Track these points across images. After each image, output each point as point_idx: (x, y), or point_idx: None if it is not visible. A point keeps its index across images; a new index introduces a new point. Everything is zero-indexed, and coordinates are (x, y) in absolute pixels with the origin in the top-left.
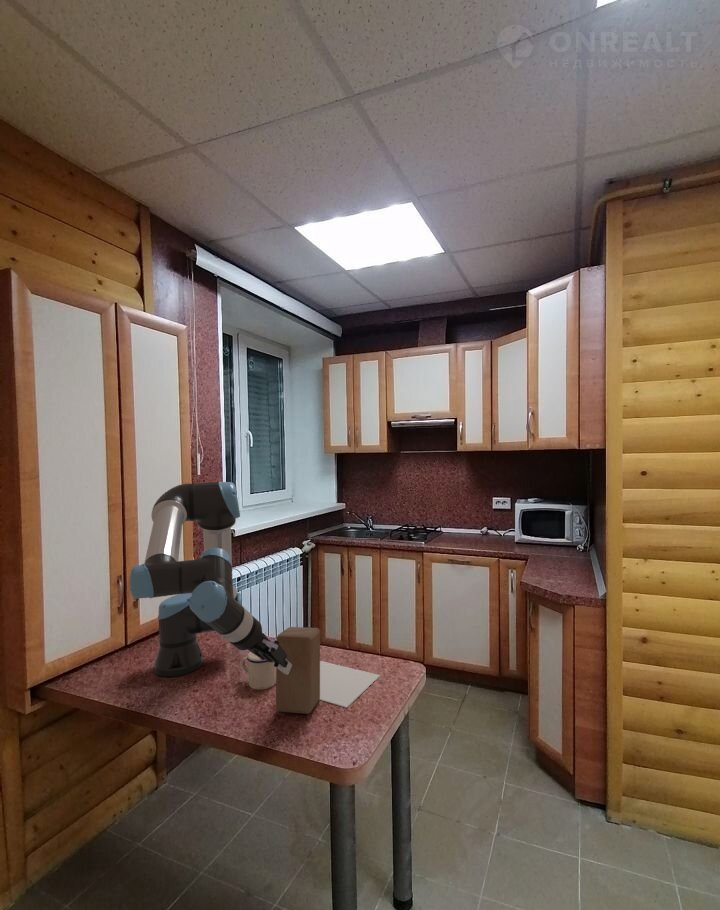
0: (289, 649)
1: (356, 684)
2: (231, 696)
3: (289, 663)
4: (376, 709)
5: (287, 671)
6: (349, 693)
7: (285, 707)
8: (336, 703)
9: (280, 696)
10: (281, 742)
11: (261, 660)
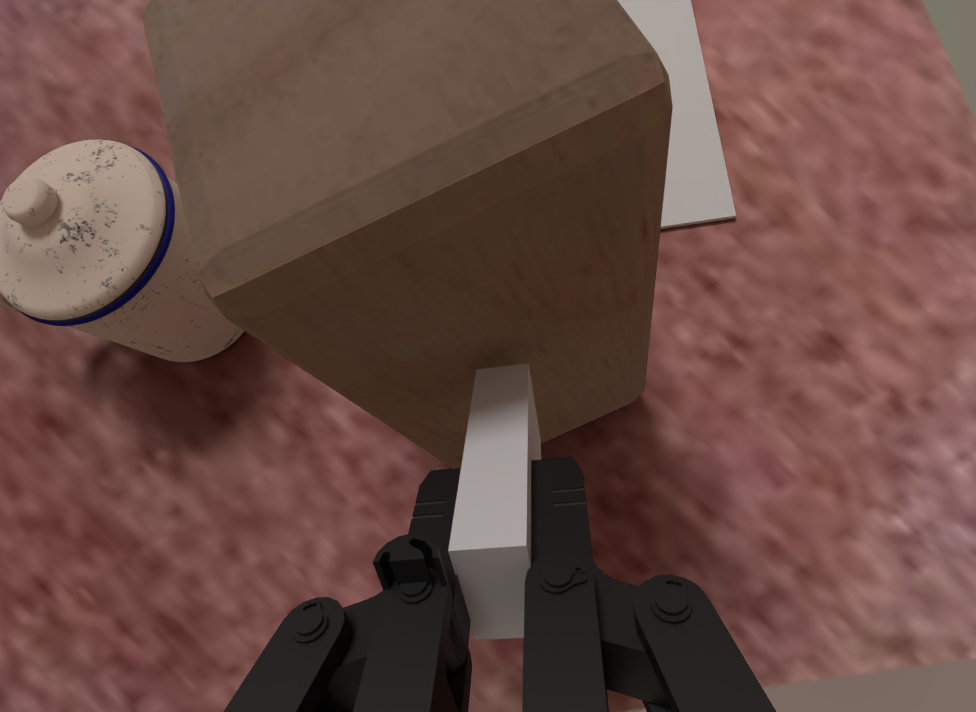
0: (445, 304)
1: None
2: (142, 471)
3: (528, 400)
4: (873, 141)
5: (538, 443)
6: None
7: None
8: (665, 221)
9: None
10: None
11: (125, 286)
